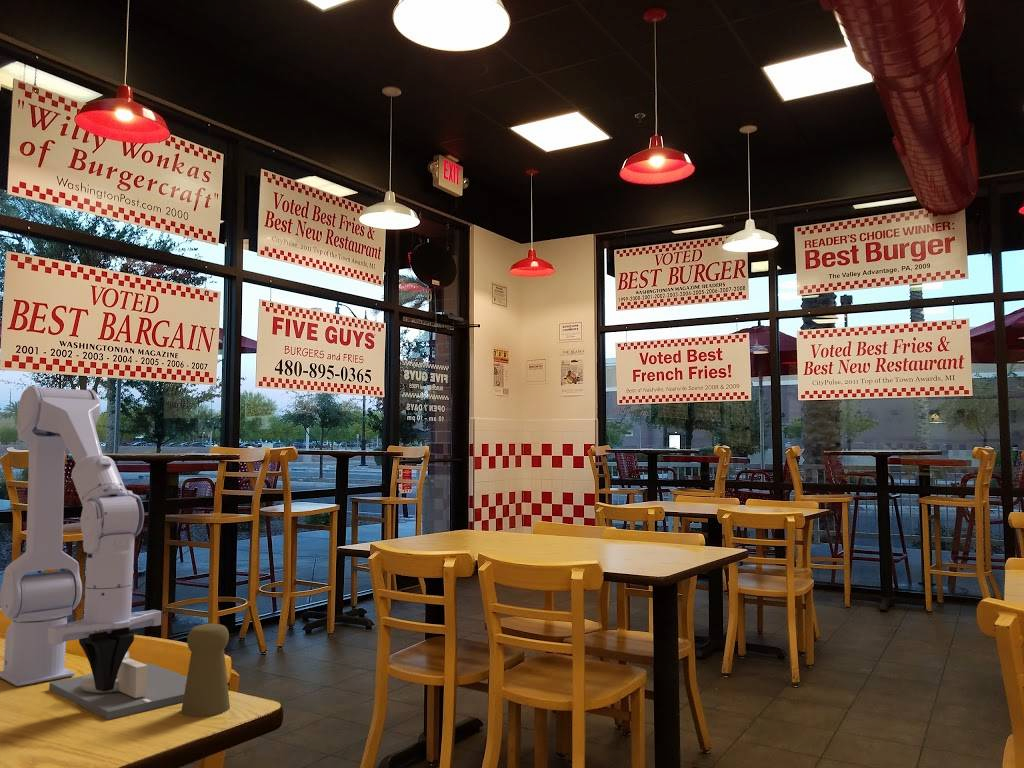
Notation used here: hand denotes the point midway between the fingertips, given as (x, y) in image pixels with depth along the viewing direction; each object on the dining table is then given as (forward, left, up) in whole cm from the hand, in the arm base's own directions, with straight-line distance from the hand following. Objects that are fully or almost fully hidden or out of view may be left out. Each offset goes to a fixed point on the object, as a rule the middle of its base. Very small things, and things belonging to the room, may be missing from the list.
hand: (104, 689), depth 106 cm
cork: (+11, +9, -3) cm, 14 cm away
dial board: (-5, +6, -2) cm, 8 cm away
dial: (-4, +4, -1) cm, 5 cm away
